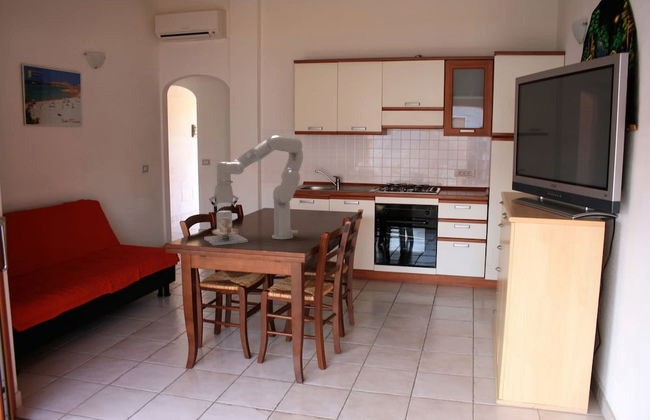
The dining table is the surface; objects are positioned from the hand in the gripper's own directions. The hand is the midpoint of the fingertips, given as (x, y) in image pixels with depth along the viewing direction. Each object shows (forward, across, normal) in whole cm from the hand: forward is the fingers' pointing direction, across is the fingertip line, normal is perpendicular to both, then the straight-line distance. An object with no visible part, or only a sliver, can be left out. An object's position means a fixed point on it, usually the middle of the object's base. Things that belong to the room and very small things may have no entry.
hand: (224, 212), depth 325 cm
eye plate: (+17, -1, 0) cm, 17 cm away
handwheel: (+15, -1, 0) cm, 15 cm away
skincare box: (+17, -6, -18) cm, 25 cm away
